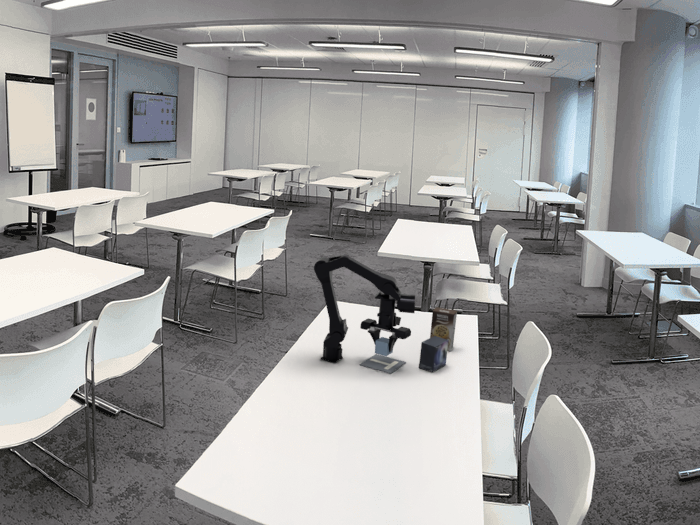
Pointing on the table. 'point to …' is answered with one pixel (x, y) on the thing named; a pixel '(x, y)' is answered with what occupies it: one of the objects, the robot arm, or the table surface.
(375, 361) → the letter card
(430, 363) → the small box
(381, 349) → the blue cube
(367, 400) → the table surface
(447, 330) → the coffee box
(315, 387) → the table surface
